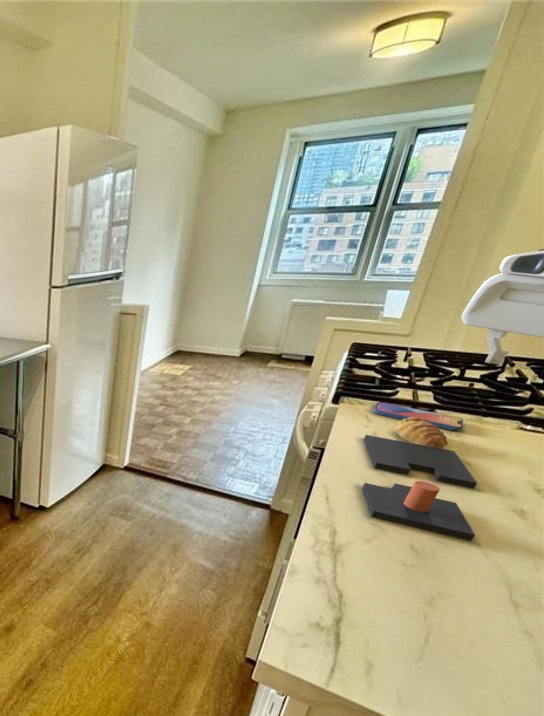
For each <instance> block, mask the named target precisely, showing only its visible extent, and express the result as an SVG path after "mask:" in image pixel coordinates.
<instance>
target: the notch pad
mask: <svg viewBox="0 0 544 716" xmlns="http://www.w3.org/2000/svg"><path fill="white" fill-rule="evenodd" d="M363 442H364V444H365V445H364V446H365V447H366V450H367V452H368V455H369V458H370V460H371V463H372V466H373V468H374V469H375V470H381V471H386V472H390V473H395V474H401V475H405V476H409V475H410V472H411V471H412V470H413V471H416V472H417V471H418V472H421V473H427V474H432V476H433V477H434V479H435V481H436V482H439V483H445V484H449V485H455V486H459V487H464V488H470V489H475V488H476V486H477V485H478V482H477V481H476V479H475V478H474V476H473V474H471V472H470V471H469V469H468V468H467V467H466V465H465V464H464V462H463V461H462V459H461V458H460V456H459V455H458V454H457V452H456V451H455V450H451V449H446V448H435V447H430V446H424V445H419V444H414V443H412V442H409V441H402V440H396V439H390V438H386V437H381V436H376V435H375V436H374V435H369V434H365V435H364V438H363Z"/></svg>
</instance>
